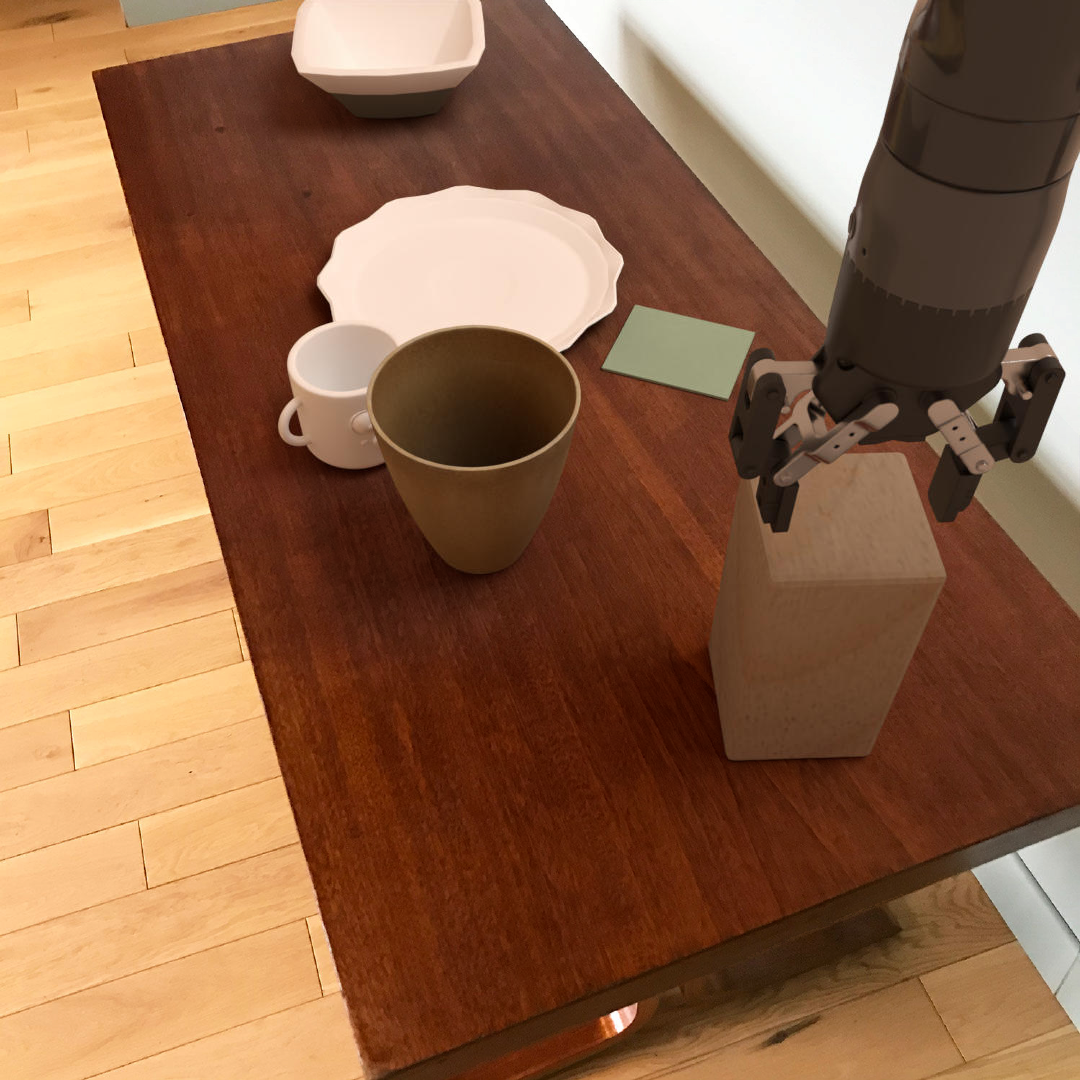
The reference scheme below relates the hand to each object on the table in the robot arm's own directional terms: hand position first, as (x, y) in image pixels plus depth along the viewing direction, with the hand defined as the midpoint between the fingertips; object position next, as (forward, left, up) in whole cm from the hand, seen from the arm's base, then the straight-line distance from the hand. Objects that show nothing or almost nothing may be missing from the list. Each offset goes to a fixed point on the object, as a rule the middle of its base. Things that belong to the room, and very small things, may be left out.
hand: (858, 515), depth 57 cm
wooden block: (+1, -5, -26) cm, 26 cm away
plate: (+41, -41, -26) cm, 63 cm away
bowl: (+65, -73, -26) cm, 101 cm away
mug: (+42, -17, -26) cm, 52 cm away
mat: (+19, -39, -25) cm, 50 cm away
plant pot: (+27, -11, -26) cm, 39 cm away
